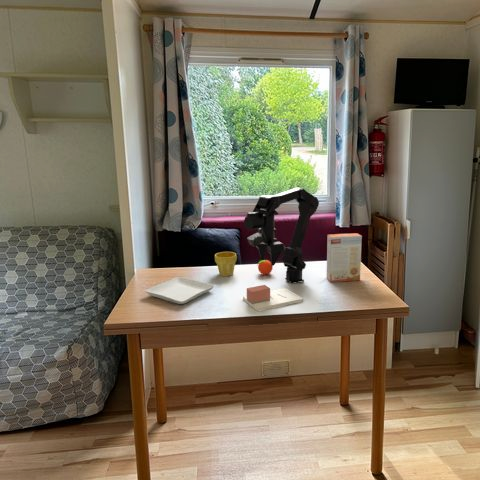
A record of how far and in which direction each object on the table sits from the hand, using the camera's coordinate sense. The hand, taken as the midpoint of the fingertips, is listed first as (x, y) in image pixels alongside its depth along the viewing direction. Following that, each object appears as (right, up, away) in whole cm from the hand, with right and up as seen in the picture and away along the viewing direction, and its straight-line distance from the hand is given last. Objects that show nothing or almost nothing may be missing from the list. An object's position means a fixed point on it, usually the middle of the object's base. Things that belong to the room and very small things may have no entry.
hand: (267, 262), depth 168 cm
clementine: (0, -7, +22) cm, 23 cm away
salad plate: (-37, -14, 0) cm, 39 cm away
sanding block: (-4, -14, -12) cm, 19 cm away
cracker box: (+35, -9, +13) cm, 38 cm away
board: (+1, -15, -9) cm, 17 cm away
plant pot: (-18, -7, +24) cm, 31 cm away
